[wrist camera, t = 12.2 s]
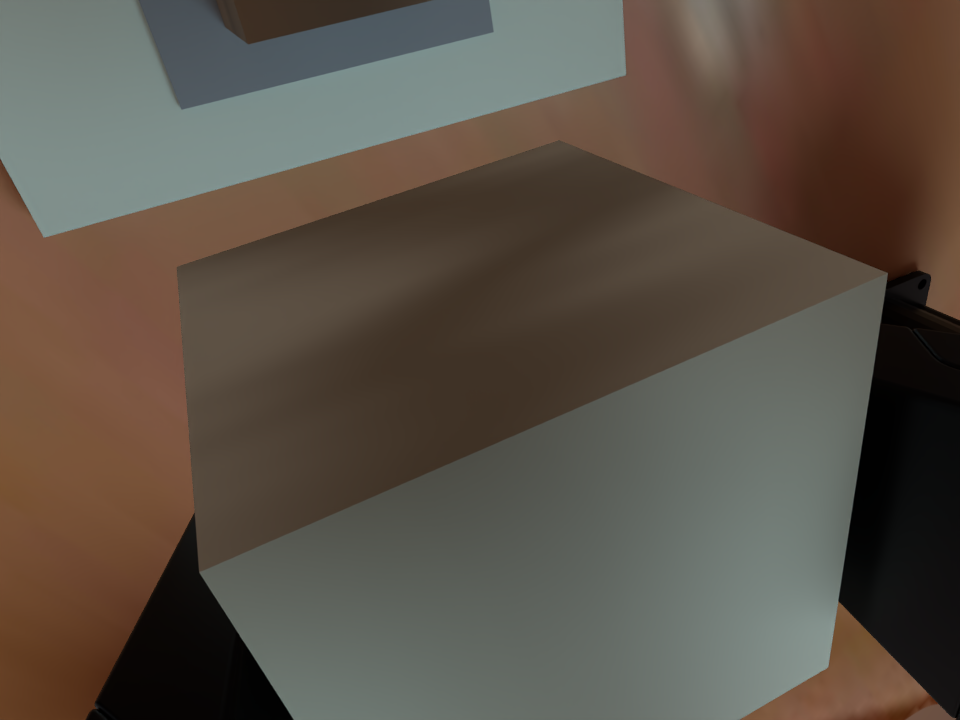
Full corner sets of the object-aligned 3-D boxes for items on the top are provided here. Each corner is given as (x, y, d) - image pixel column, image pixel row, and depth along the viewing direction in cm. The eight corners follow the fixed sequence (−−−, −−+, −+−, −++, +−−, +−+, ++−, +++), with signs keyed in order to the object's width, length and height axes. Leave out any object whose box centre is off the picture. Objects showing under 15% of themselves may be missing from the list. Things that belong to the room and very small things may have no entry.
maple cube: (559, 139, 9) (887, 273, 5) (596, 430, 12) (828, 667, 8) (177, 266, 8) (199, 570, 4) (317, 554, 11) (416, 909, 7)
